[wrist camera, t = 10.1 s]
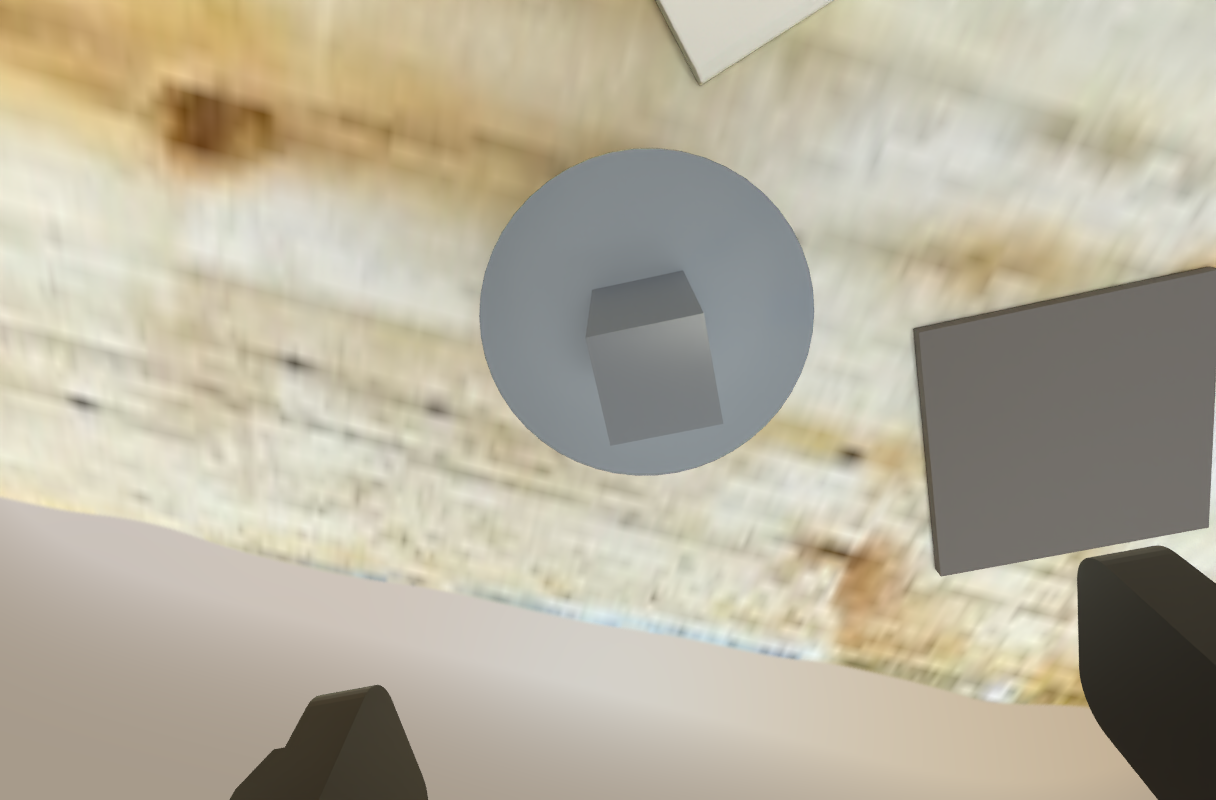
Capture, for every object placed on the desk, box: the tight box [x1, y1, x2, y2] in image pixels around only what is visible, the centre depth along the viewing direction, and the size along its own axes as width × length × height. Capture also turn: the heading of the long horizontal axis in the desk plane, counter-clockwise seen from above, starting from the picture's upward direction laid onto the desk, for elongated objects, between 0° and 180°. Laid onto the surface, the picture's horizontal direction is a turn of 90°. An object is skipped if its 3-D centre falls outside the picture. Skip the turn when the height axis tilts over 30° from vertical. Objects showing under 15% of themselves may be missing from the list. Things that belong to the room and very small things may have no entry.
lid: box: [479, 148, 814, 475], centre depth 22 cm, size 11×11×7 cm
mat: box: [914, 267, 1216, 576], centre depth 33 cm, size 12×12×1 cm
